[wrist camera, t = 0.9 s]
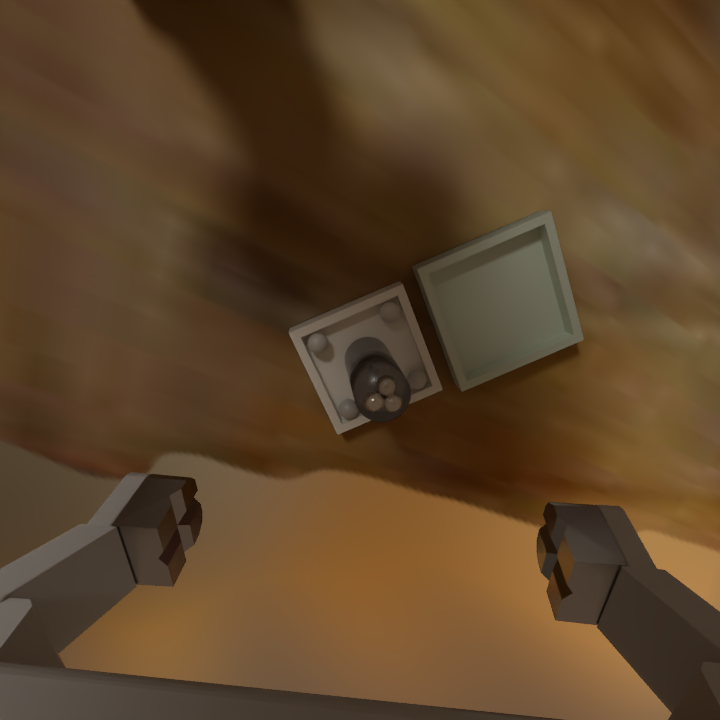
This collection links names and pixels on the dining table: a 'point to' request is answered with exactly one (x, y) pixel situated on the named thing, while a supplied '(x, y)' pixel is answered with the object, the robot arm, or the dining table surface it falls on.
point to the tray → (353, 321)
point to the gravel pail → (376, 380)
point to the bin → (500, 300)
